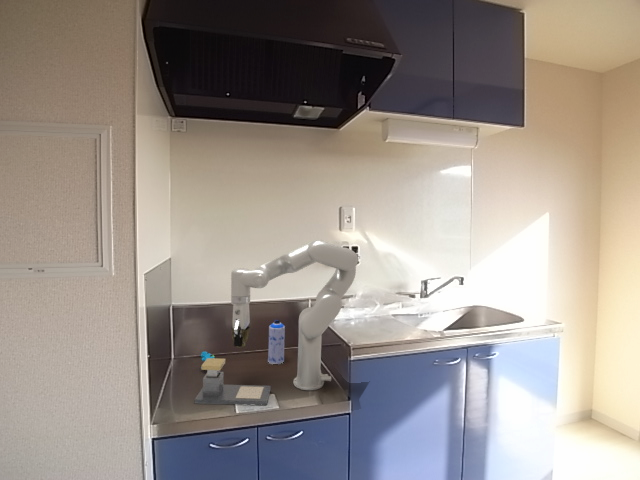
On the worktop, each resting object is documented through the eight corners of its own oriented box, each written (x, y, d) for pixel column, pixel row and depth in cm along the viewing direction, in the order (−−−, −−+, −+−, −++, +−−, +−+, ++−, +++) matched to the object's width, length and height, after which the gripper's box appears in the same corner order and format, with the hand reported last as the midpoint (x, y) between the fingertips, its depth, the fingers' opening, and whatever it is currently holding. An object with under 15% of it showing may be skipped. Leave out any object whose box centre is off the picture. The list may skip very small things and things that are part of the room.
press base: (270, 389, 139) (271, 369, 138) (266, 405, 127) (266, 383, 126) (204, 387, 139) (205, 367, 138) (194, 403, 127) (194, 381, 126)
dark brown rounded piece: (251, 343, 145) (251, 324, 145) (247, 349, 138) (247, 329, 138) (233, 343, 145) (233, 324, 145) (228, 349, 138) (228, 329, 138)
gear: (215, 370, 150) (200, 353, 151) (204, 380, 150) (189, 362, 151) (222, 363, 162) (208, 347, 162) (213, 372, 161) (199, 356, 162)
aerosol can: (287, 359, 169) (288, 319, 168) (279, 365, 162) (280, 323, 161) (273, 356, 172) (274, 316, 171) (264, 362, 165) (265, 320, 164)
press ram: (225, 378, 136) (225, 358, 135) (220, 387, 129) (220, 366, 128) (206, 378, 136) (207, 358, 135) (201, 386, 129) (201, 365, 128)
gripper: (245, 304, 132) (244, 351, 133) (254, 295, 149) (254, 336, 150) (225, 304, 132) (225, 350, 133) (236, 294, 149) (236, 335, 150)
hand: (240, 342), depth 142 cm, fingers closed on dark brown rounded piece, 6 cm apart
